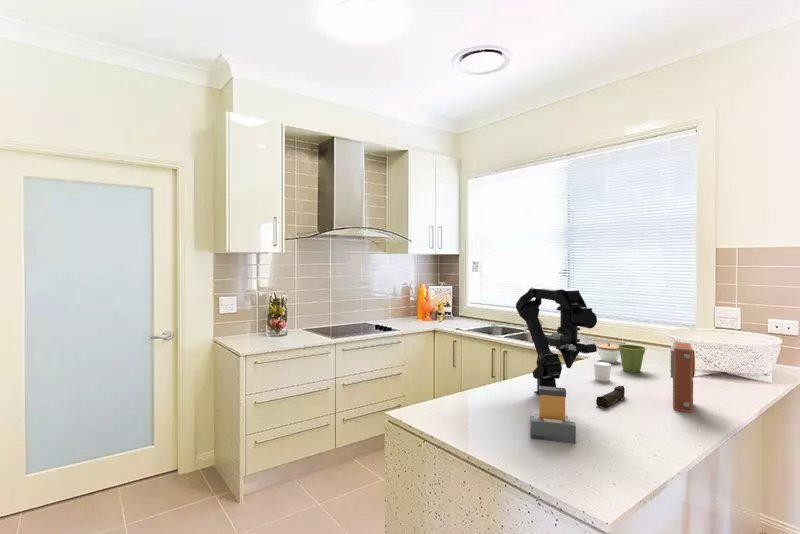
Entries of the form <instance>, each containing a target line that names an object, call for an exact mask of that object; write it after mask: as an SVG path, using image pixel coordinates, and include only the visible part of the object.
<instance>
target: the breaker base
mask: <svg viewBox="0 0 800 534" xmlns="http://www.w3.org/2000/svg"><path fill="white" fill-rule="evenodd" d="M576 424H577V423H576V421H571V419H569V415H566V414H565V421H562V420H553V419H542V418H540V415H539V412H533V415H530V439H532V440H533V439H534V440H542V441H550V442H552V441H553V442H560V443H569V444H577V425H576Z"/></svg>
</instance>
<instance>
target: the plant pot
mask: <svg viewBox="0 0 800 534" xmlns="http://www.w3.org/2000/svg"><path fill="white" fill-rule="evenodd" d="M617 346H618V347H619V351H620V361H621V368H622V370H623V371H624V372H625V371H626V372H628V373H641V370H642V364H643V360H644V355H645V352H646V351H647V347H645V346H640V345H638V344H637V345H635V344H618V345H617Z"/></svg>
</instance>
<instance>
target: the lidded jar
mask: <svg viewBox="0 0 800 534" xmlns="http://www.w3.org/2000/svg"><path fill="white" fill-rule="evenodd" d="M596 347H597V356H598V357H599V359H600V360H601V362H606V363H610V364H613V363H614V364H615V363H616V362H617V361H618V360H619V359H620V358H621V355H620V351H619V347H618V345H617V344H611V343H610V342H607V343H602V344H601V343H600V344H596Z"/></svg>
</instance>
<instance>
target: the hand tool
mask: <svg viewBox="0 0 800 534" xmlns="http://www.w3.org/2000/svg"><path fill="white" fill-rule="evenodd" d="M613 388H614V390H612V391H609V392H608V393H605V394H603V395H601V396H597V397H596V399H595V401H596V405H597V407H599V408H602V409H603V408H604V409H606V408H608V407H609V405H611V404H613V403H616V401H622V400H623V399H624V398H625V394H626V392H625V386H624V385H618V386H615V387H613Z"/></svg>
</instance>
